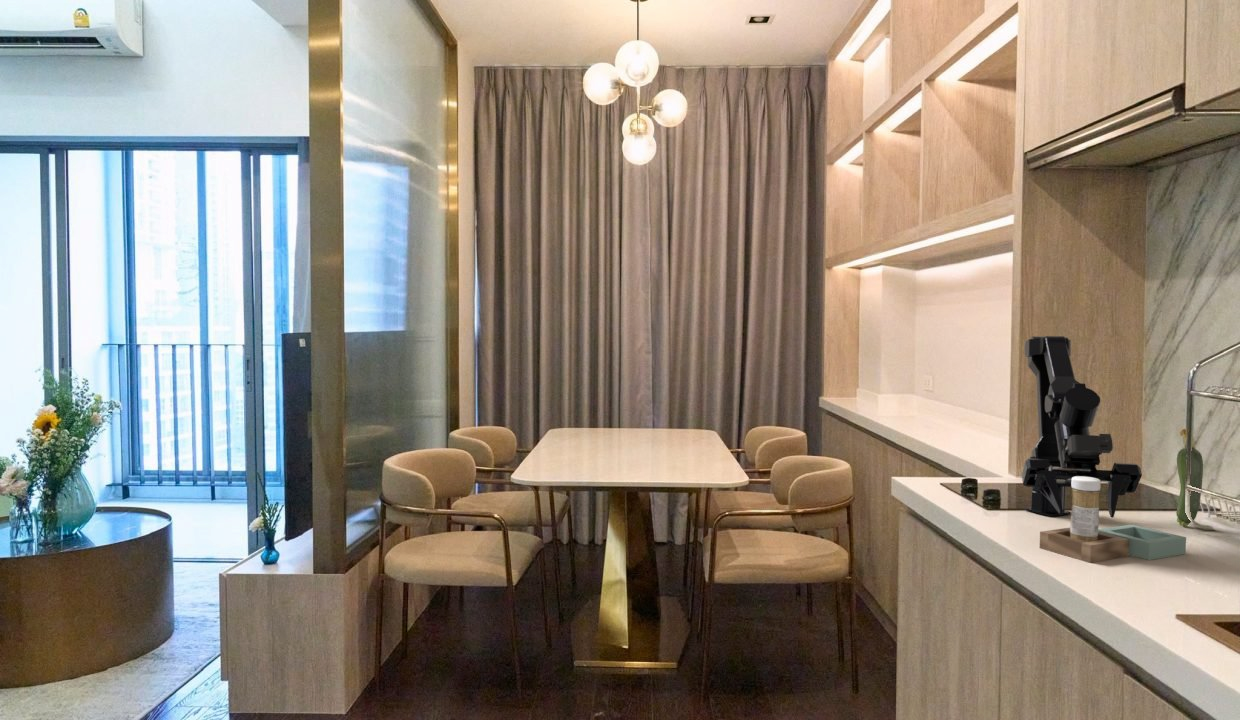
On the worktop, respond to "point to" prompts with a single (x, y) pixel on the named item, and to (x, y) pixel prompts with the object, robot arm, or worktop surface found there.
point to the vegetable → (1194, 480)
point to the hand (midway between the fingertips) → (1086, 514)
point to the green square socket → (1149, 541)
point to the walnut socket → (1084, 545)
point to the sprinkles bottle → (1085, 508)
